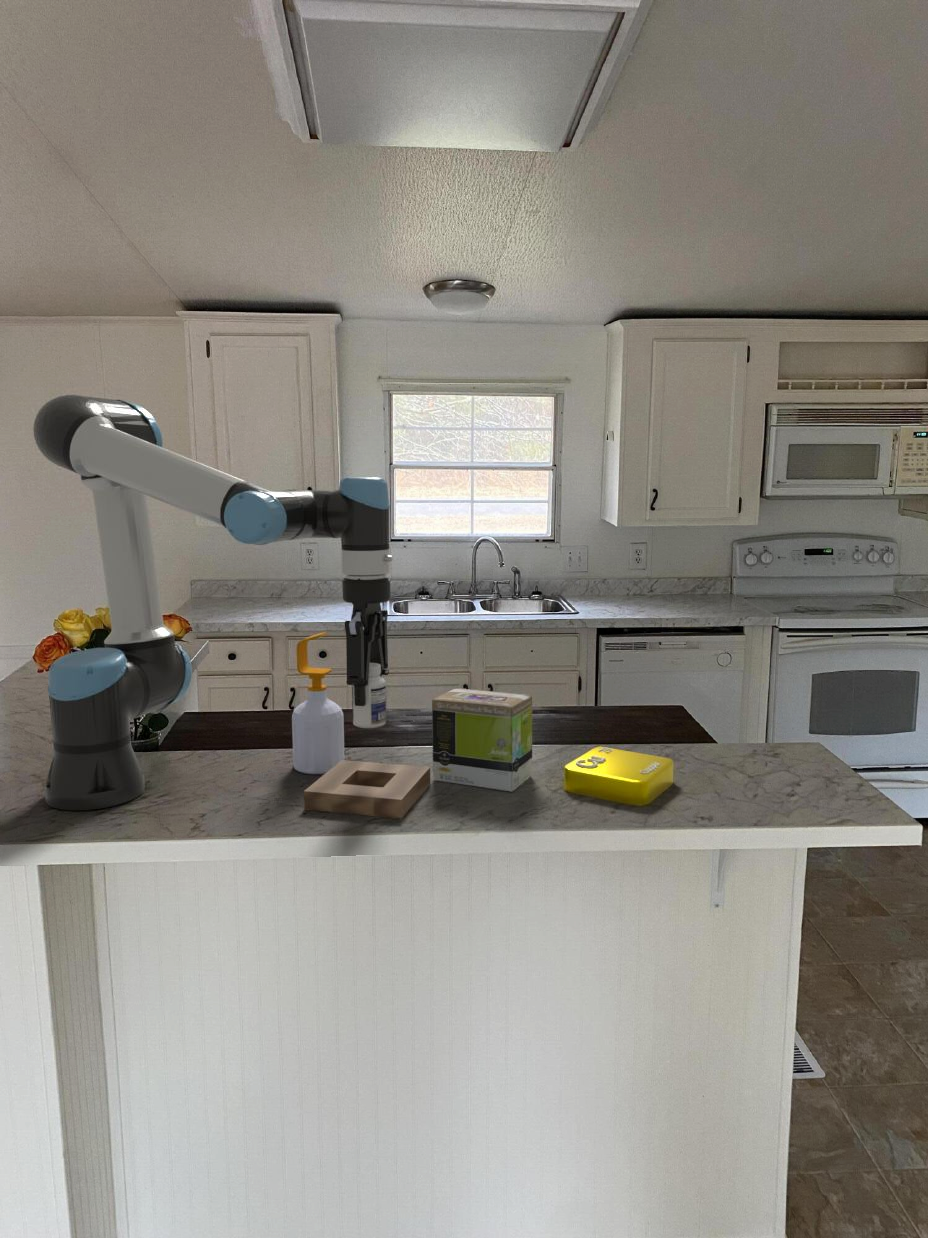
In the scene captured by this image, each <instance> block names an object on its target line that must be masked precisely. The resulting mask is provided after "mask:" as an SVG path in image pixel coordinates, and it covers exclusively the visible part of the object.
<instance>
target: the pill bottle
mask: <svg viewBox="0 0 928 1238" xmlns="http://www.w3.org/2000/svg"><path fill="white" fill-rule="evenodd" d="M380 674H381V665H380V664H378V663H370V664H369V678H368V684H371V722H372V725H370V726H365V725H354V713H353V685H351V700H352V701H351V702H352V703H351V707H352V712H351V713H352V724H353V725H354V726H355V727H357V728H362V729H374V728H380V727H383V726H384V725H386V723H387V698H386V697H387V693H386V692H387V690H386V688H387V687H386V685H387V684H386V679H384V677H383V678H382V677H380Z"/></svg>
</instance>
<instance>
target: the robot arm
mask: <svg viewBox="0 0 928 1238" xmlns="http://www.w3.org/2000/svg"><path fill="white" fill-rule="evenodd" d="M32 430H33V437H34V441H35V444H36V445H37V448H38V450H39V451H40V453H41V454H42V455H43V457H45V458H46V459H47V460H48V461H50V462H52V463H53V464H54V465H56V466H58V467H61V468H63V469H65V470H69V471H71V472H73V473H75V474H78V475H80V479H81V483H82V484H83V485H84V486H85V487H86V488H88V489H90V490H91V492H92V496H93V497H92V498H93V504H94V510H95V512H94V513H95V518H96V524H97V525H96V526H97V533H98V538H99V540H98V541H99V547H100V553H101V562H102V568H103V576H104V582H105V590H106V598H107V605H108V611H109V619H110V626H111V631H110V633H109V634H108V636H107V637H106V638H105V639H104V641H103V644H104V647H96V648H95V647H93V648H87V649H86V650H76V651H73V652H70V653H68V654H65V655H63V656H60V657H59V658H57V659H56V660H55V661H53V663H51V665H50V666H49V670H48V684H47V692H48V696H49V697H48V699H49V710H50V720H51V722H50V723H51V731H52V732H51V733H52V742H53V744H52V745H53V757H52V760H51V763H50V766H49V767H50V768H49V770H48V773H47V778H46V782H45V786H44V798H45V803H46V805H48V806H49V807H51V808H54V809H59V810H61V811H63V810H64V811H90V810H97V809H98V810H99V809H105V808H110V807H114V806H118V805H121V804H124V803H127V802H130V801H132V800H134V799H136V798H138V797H140V796H141V795H142V794H143V793H144V792H145V790H146V787H145V785H146V784H145V783H146V782H145V776H144V775H145V774H144V772H143V771H142V768H141V766H140V764H139V761H138V758H137V756H136V753H135V751H134V748H133V747H132V741H131V724H130V722H131V721H132V720H134V719H138V718H140V717H143V716H145V715H147V714H150V713H154V712H158V711H162V710H163V709H165V708H168V707H169V706H171V705H172V704H174V703H176V702H178V701H180V699H181V698H182V697H183V696H184V695H185V694H186V692H187V691H188V689H189V687H190V684H191V682H192V678H193V677H192V676H193V675H192V674H193V669H192V667H193V666H192V662H191V659H190V656H189V654H188V653H187V651H184V650H183V649H184V648H183V647H182V646H181V645H180V644H179V643H177V642H176V639H175V632H174V631H173V630H172V629H171V628H169V627H167V626H166V625H165V623H164V617H163V610H162V602H161V594H160V593H161V592H160V587H159V577H158V572H157V565H156V557H155V550H154V541H153V534H152V532H153V531H152V525H151V519H150V510H149V502H148V497H151V498H153V499H155V500H158V501H160V502H163V503H165V504H167V505H170V506H172V507H175V508H177V509H179V510H182V511H183V512H186V513H189V514H192V515H194V516H196V517H199V518H201V519H203V520H206V521H208V522H211V523H212V524H216V525H218V526H220V527H223V528H225V529H227V531H228V533H229V534H230V535H231V536H232V537H233V539H235V540H236V541H237V542H239V543H242V544H244V545H245V544H246V545H255V546H263V545H268V544H270V543H278V542H282V541H293V540H303V539H311V538H312V539H340V543H341V544H340V545H341V574H342V575H343V576H345V577H344V578H343V579H342V581H341V582H342V583H341V585H342V600H343V601H344V602H346V603H349V604H352V606H353V607H352V612H351V616H350V617H351V618H350V620H345V621H344V631H345V637H346V638H345V642H346V645H345V647H346V649H345V650H346V654H345V655H346V685H347V686H352V685H353V713H354V724H353V725H354V726H355V725H365V726H370V725H372V722H371V684H368V678H369V664H370V663H378V664H380V665H381V674H380V677H382V678H383V679H384V676H388V675H389V674H390V669H388V667H389V655H388V654H389V653H388V650H389V649H388V625H387V624H388V615H389V611H388V610H387V609H382V605H381V603H386V602H388V601H390V600H391V579H390V578H389V577H388V576H387V575H389V574H390V572H391V571H390V569H391V568H390V564H391V563H390V562H392V561H393V560H394V559H393V556H392V555H390V509H391V505H390V500H389V489H388V488H389V487H388V483H387V481H386V480H385V479H384V478H382V477H342V478H341V479H340V481H339V487H338V489H335V490H334V489H333V490H315V489H314V490H313V489H311V490H309V489H306V490H305V489H295V488H294V489H287V490H271V489H266V488H263V487H261V486H259V485H257V484H254V483H251V482H248V481H246V480H244V479H242V478H239V477H236V476H233V475H231V474H229V473H226V472H225V471H222V470H218V469H216V468H213V467H211V466H210V465H206V464H204V463H202V462H198V461H196V460H194V459H191V458H190V457H187V456H185V455H182V454H179V453H177V452H174V451H171V450H169V449H167V448H164V447H163V435H162V431H161V428H160V425H159V424H158V422H157V420H156V419H155V417H154V416H153V415H152V414H151V413H150V412H149V411H148V410H146V409H145V408H144V407H142V406H141V405H139V404H137V403H132V402H129V401H126V400H122V399H111V398H110V399H109V398H102V397H93V396H83V395H78V394H66V395H60V396H57V397H55V398H52V399H50V400H48V401H46V402H45V403H44V404H43V405H42V406H41V408H40V409H39V410H38V411H37V414H36V416H35V419H34V421H33V429H32ZM353 713H352V714H353Z"/></svg>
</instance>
